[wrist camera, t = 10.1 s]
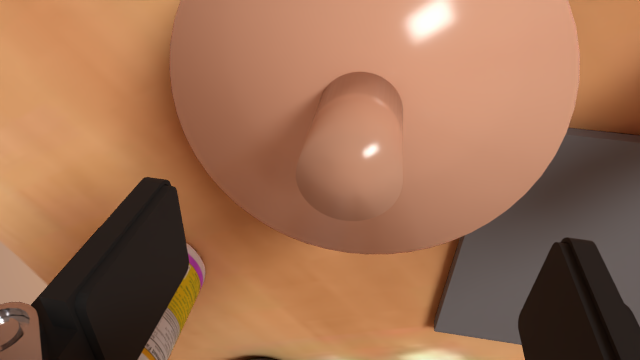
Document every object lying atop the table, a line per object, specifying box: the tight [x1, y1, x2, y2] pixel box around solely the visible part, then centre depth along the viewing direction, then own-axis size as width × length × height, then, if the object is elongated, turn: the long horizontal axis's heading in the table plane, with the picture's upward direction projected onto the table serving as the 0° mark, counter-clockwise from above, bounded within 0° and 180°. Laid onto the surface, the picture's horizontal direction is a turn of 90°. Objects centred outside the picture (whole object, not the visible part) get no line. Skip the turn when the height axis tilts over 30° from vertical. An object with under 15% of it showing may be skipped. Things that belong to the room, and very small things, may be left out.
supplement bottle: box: [138, 243, 205, 360], centre depth 29 cm, size 7×7×13 cm
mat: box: [434, 128, 640, 345], centre depth 27 cm, size 17×17×1 cm
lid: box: [170, 0, 580, 254], centre depth 15 cm, size 15×15×6 cm
